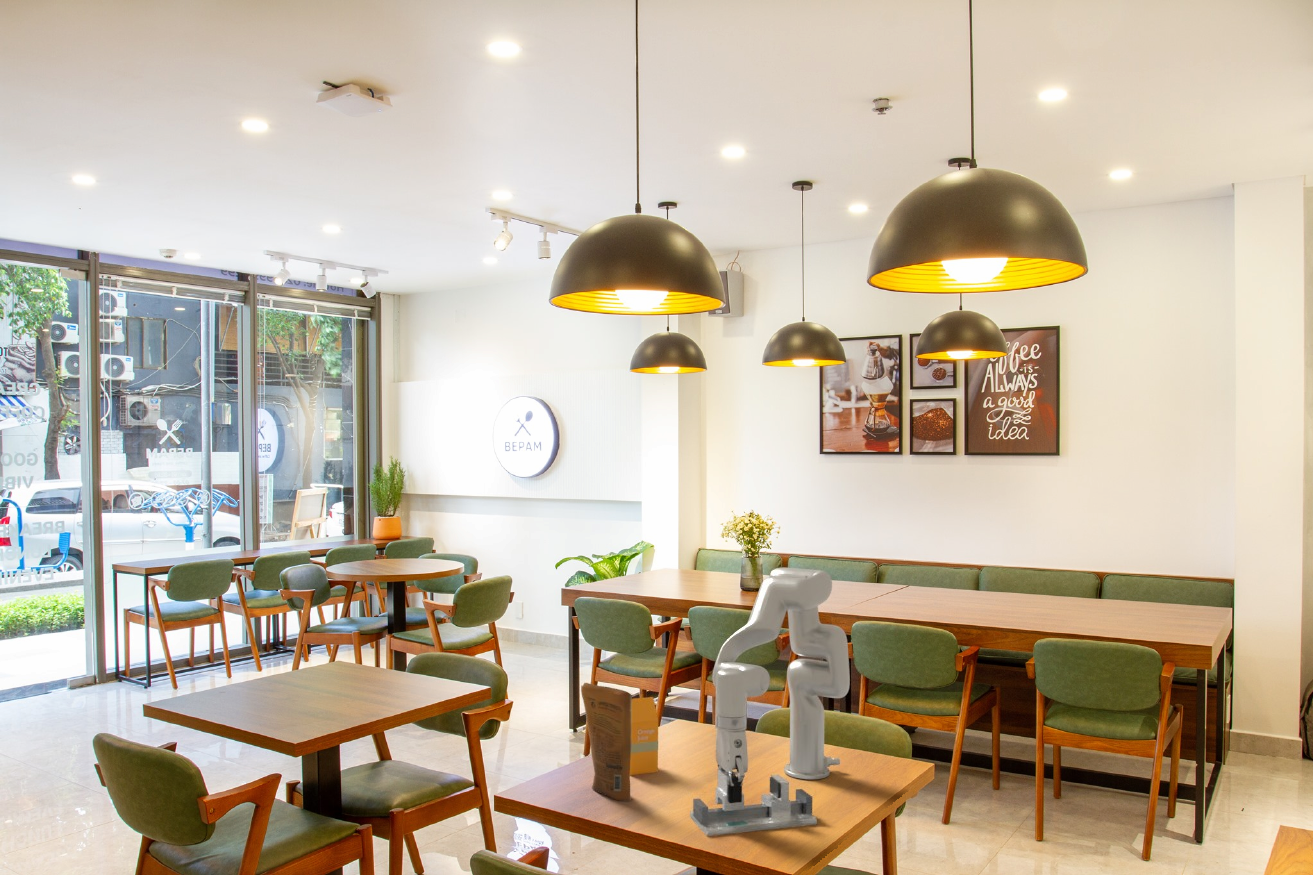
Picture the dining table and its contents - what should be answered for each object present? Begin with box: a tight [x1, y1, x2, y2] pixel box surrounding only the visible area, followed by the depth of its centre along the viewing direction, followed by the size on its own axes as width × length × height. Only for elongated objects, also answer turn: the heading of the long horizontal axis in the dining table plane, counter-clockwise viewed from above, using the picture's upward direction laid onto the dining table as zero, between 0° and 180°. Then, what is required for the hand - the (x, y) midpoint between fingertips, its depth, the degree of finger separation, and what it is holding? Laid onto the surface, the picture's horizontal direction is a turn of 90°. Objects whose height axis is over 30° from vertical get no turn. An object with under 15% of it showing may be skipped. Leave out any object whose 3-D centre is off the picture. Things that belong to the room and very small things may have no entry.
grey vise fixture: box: [689, 774, 818, 837], centre depth 227 cm, size 29×12×10 cm, turn 107°
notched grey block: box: [714, 768, 745, 811], centre depth 225 cm, size 5×6×8 cm
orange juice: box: [630, 696, 659, 776], centre depth 265 cm, size 8×9×20 cm
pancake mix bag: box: [580, 682, 633, 802], centre depth 245 cm, size 7×19×28 cm, turn 39°
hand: (729, 796), depth 225 cm, fingers closed on notched grey block, 6 cm apart
